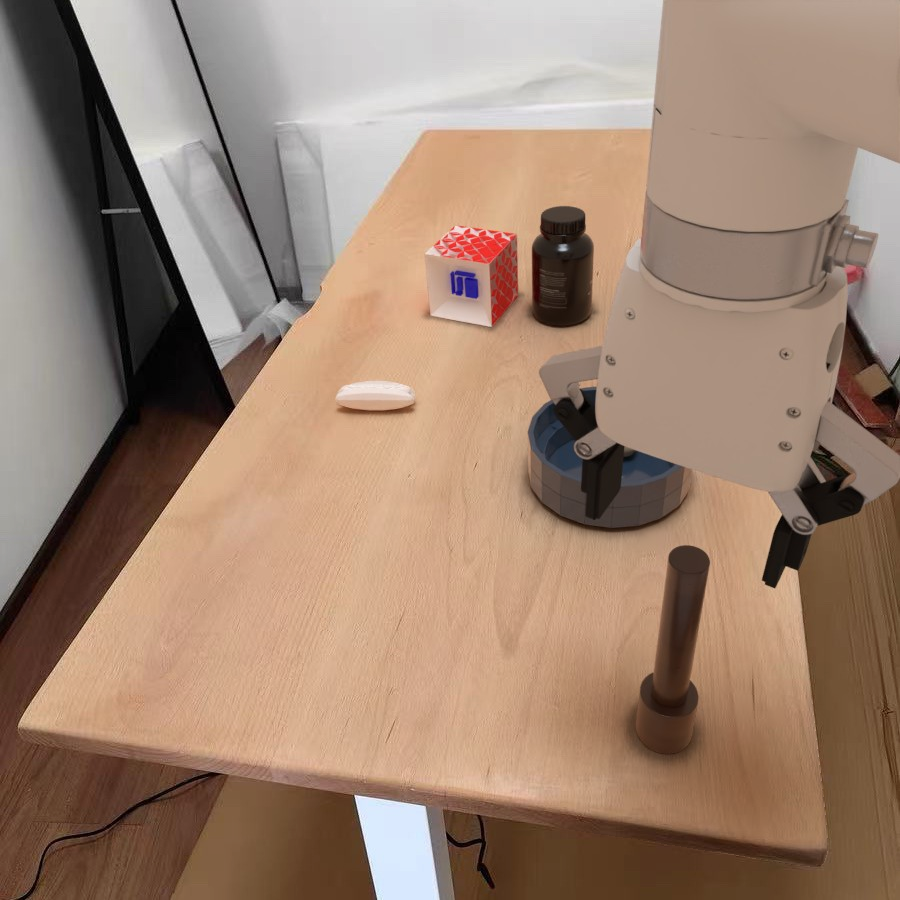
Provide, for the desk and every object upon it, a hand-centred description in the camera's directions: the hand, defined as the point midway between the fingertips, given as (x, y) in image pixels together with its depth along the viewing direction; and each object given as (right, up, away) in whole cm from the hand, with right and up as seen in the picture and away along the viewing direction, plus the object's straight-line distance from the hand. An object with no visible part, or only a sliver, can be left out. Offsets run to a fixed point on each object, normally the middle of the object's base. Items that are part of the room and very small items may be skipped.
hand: (685, 534), depth 46 cm
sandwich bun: (-20, +9, +42) cm, 47 cm away
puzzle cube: (-10, +22, +57) cm, 61 cm away
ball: (+3, +5, +32) cm, 32 cm away
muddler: (+2, -14, +11) cm, 18 cm away
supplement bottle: (0, +20, +54) cm, 58 cm away
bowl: (+2, +2, +31) cm, 31 cm away
